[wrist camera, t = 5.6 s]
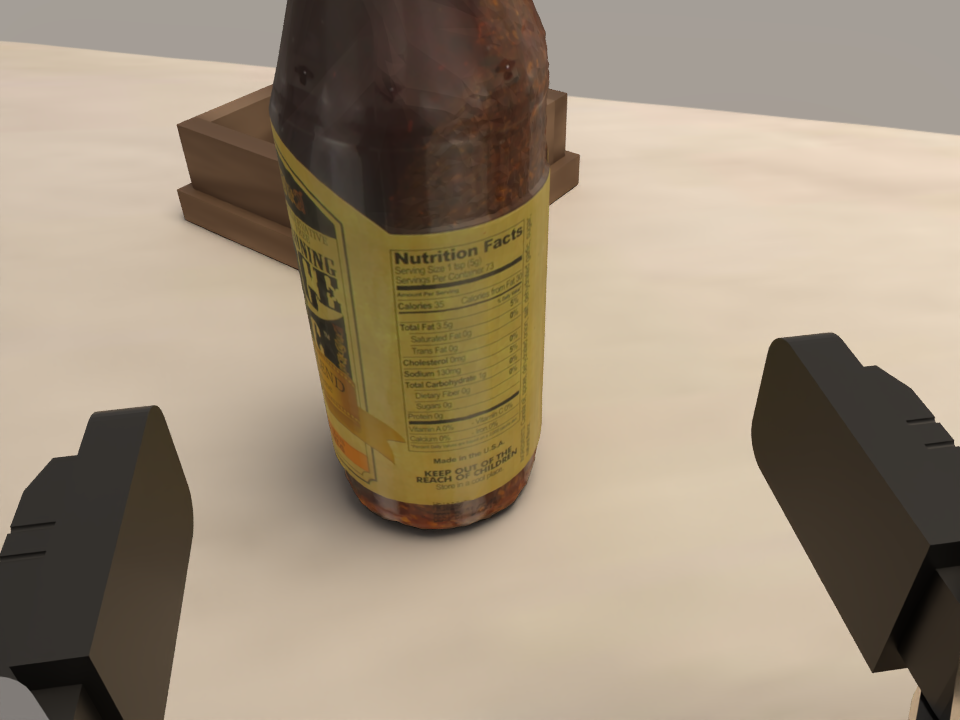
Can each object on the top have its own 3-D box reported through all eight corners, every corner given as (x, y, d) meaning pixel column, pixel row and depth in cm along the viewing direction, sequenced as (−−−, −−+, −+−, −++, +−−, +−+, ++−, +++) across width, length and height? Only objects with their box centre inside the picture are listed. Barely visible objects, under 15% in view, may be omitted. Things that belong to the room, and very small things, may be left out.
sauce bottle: (353, 400, 29) (233, -362, 17) (537, 399, 29) (553, -373, 17) (323, 555, 24) (119, -376, 12) (546, 554, 24) (579, -393, 12)
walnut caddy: (399, 313, 33) (388, 210, 30) (184, 219, 39) (159, 125, 37) (578, 183, 41) (582, 92, 38) (376, 122, 47) (367, 39, 45)
